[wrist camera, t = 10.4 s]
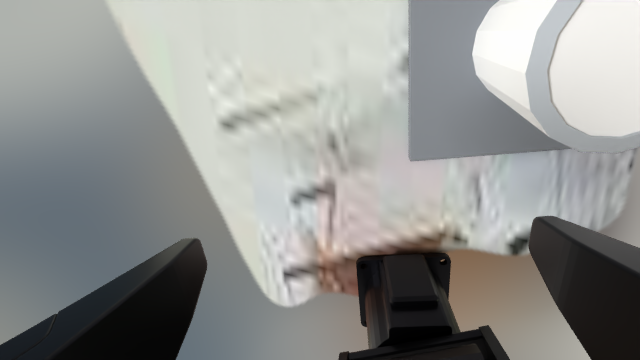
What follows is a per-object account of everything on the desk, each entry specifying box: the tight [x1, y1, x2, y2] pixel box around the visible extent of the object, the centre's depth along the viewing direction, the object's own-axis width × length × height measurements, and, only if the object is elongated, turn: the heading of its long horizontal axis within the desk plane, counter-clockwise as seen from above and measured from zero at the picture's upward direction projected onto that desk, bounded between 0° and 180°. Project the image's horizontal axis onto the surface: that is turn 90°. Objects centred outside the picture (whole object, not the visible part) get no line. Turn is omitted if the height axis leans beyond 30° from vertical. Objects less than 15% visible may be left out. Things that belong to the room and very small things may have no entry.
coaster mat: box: [409, 0, 572, 161], centre depth 17 cm, size 12×12×1 cm
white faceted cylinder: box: [472, 0, 640, 153], centre depth 14 cm, size 7×7×7 cm
